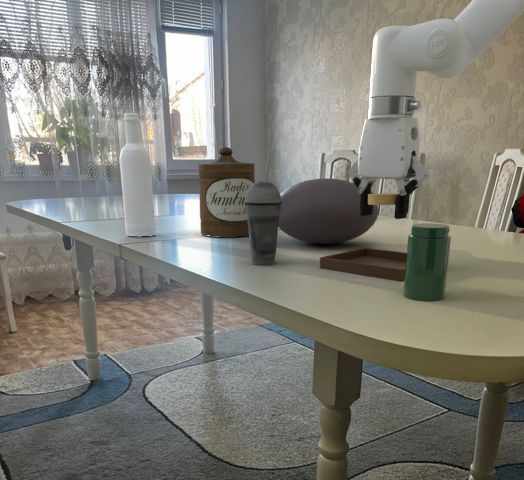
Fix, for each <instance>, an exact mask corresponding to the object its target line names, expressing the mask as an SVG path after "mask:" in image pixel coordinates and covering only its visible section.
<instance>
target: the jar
mask: <svg viewBox="0 0 524 480" xmlns="http://www.w3.org/2000/svg"><path fill="white" fill-rule="evenodd" d="M450 231H451V229H450V225H448V224H443V223H431V222H430V223H428V222H427V223H425V222H424V223H423V222H422V223H413V224H411V232H410V234H408V236H407V245H406V247H407V248H406V253H407V257H406V269H405V280H403V281H404V282H403V295H402V296H403V297H405V298H407V299H410V300H414V301H422V302H435V301H442V300H443V299H445V295H446V286H447V278H448V277H447V276H448V268H449V261H450V260H449V258H450V250H451V241H452V236H451V235H449V234H450Z"/></svg>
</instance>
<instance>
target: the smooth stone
mask: <svg viewBox="0 0 524 480" xmlns="http://www.w3.org/2000/svg"><path fill="white" fill-rule="evenodd" d="M280 196H281V202H282V204H281V210H280V214H279V222H278V229H280V230H281V232H283V233H284V234H286V235H287V236H288V237H291V238H293V239H295V240H297V241H301V242H304V243H308V244H314V245H315V244H316V245H333V244H340V243H345V242H348V241H352V240H355V239H356V238H359V237H361V236H362V235H364V234H365V233H367V232H368V231H369V230H370V229H371V228H372V227H373V226H374V225H375V223H376V222H377V220H378V217H379V205H373V213H372V214H371V215H367V216H361V215H360V212H361V210H360V198H361V193H359V192H358V188H357V187H356V186H355V184H354V183H353V182H351V181H349V180H345V179H338V178H313V179H308V180H304V181H301V182H298V183H295V184H293V185H291V186H289V187H287V188H286V189H284V191H282V192H280Z"/></svg>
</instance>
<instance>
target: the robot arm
mask: <svg viewBox="0 0 524 480" xmlns="http://www.w3.org/2000/svg"><path fill="white" fill-rule="evenodd" d="M523 12H524V0H471V1H470V2H469V3H468V4H467V5H466V7H465V8H463V10H462V11H461V12H460V13H459V14H458V15H457V16H456V17H455V18H454V19H452V18H446V17H444V18H437V19H432V20H429V21H425V22H420V23H418V24H412V25H401V24H400V25H389V26H385V27H382V28H380V29H378V30H377V31H376V32H375V34H374V36H373V41H372V55H371V70H370V86H369V99H368V100H369V101H368V102H369V103H368V117H367V118H366V119H365V120H364V123H363V128H362V131H361V136H360V143H359V150H358V159H357V160H356V161H355V162H354V163H353V164H352V165H351V167H350V168H349V169H348V170H347V175H348V176H349V178H350V179H351V181H352V183H354V184H355V186H356V187H357V188H358V192H359V193H361V198H360V210H361V212H360V215H361V216H367V215H371V214H372V213H373V205H368V194H374V192H372V190H373V188H374V186H375V183H376V181H377V180H378V179H379V180H395V184H396V187H397V190H398V193H399V196H397V197H396V203H395V205H394V217H393V218H394V219H395V220H401V219H406V218H407V215H408V213H409V208H410V196H411V195H413V193H414V192H415V190H416V189H418V188H419V187H420V186H421V184H422V183H423V182H424V181H425V180H426V179H427V178H428V176H429V175H430V174H429V171H428V170H427V169H426V168H425V166H424V165H423V164H422V163H421V161H420V128H419V120H418V118H417V117H414V115H415V111H417V110H420V109H421V108H422V107H421V106H422V102H421V101H420V100H416V97H415V96H416V85H417V84H416V83H417V74H418V72H425V73H427V74H431V75H432V76H433V77H436V78H437V79H444V80H445V79H451V78H454V77H456V76H457V75H460V74H461V73H463V72H464V71H465V70H466V69H467V68H468V67H470V65H471V64H472V63H474V62H475V61H476V60H477V59H478V58H479V57H480V56H481V55H482V54H483V53H484V52H485V51H487V49H488V48H490V47H491V46H492V45H493V44H494V42H496V40H497V39H498V38H500V37H501V35H503V34H504V32H505V31H506V30H507V29H508V28H509V27H510V26H511V25H512V24H513V23H514V22H515V21H516V20H517V19H518V17H520V15H521V14H522V13H523Z"/></svg>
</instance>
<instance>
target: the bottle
mask: <svg viewBox="0 0 524 480" xmlns="http://www.w3.org/2000/svg"><path fill="white" fill-rule="evenodd" d="M140 119H141V118H140V114H139V113H135V112H126V113H124V114H123V122H124V130H125V142H126V144H125V145H124V146H123V147H122V148H121V149H120V154H119V168H120V169H119V171H120V180H121V181H120V182H121V191H122V202H123V203H122V204H123V212H124V213H123V214H124V215H123V216H124V230H125V235H129V236H149V235H154V234H156V235H157V232H156V230H157V227H156V226H157V225H156V218H155V204H154V203H155V201H154V190H153V189H154V188H153V177H152V176H153V174H152V161H151V156H150V153H149V151H148V149H147V148H146V147H145V146H144V145H143V144H142V139H141V126H140V122H141V120H140Z"/></svg>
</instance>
